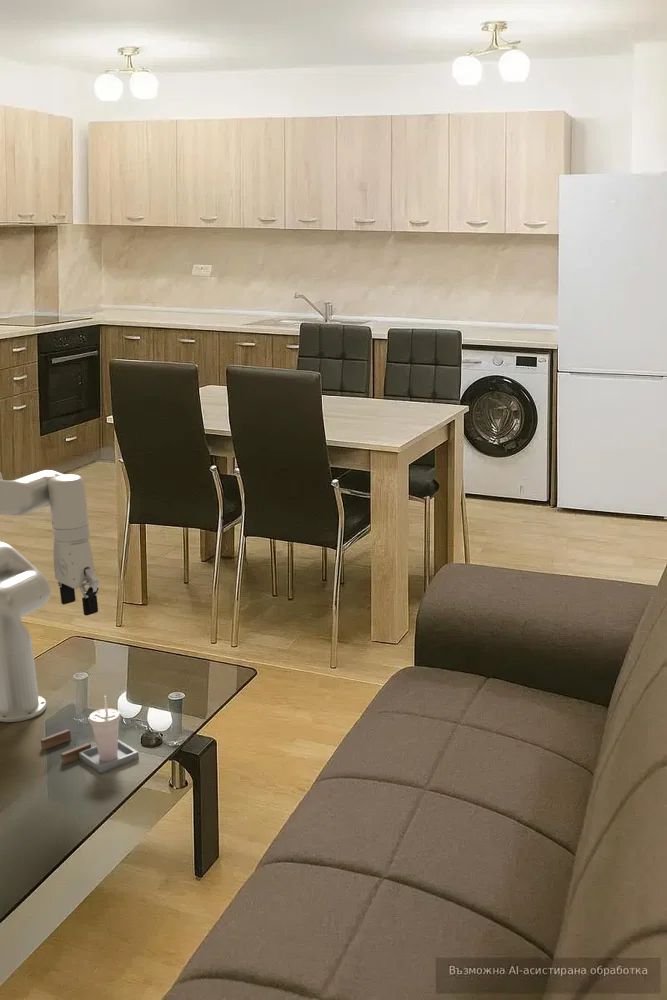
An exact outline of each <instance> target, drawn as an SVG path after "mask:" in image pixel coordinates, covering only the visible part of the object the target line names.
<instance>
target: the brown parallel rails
mask: <svg viewBox="0 0 667 1000" xmlns="http://www.w3.org/2000/svg"><path fill="white" fill-rule="evenodd" d="M71 740H72V737H71V730H70V729H68V728H66V729H64V730H62V731H59V732H56V733H53V734H51V735H48V736H45V737H43V738H41V739H40V746H41V750H43V751H46V750H48V749H50V748H53V747H55V746H58V745H60V744H63V743H66V742H69V741H71ZM91 747H92V744H91V743H90V742H87V743H84V744H81V745H79V746H76V747H74V748H71V749H69V750H66V751H64V752H61V754H60V757H61V764H63V765H67V764H70V763H72V762H74V761H76V760H80V759H79V752H81V751H83V750H86V749H89V748H91Z"/></svg>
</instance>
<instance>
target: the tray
mask: <svg viewBox="0 0 667 1000" xmlns="http://www.w3.org/2000/svg"><path fill="white" fill-rule="evenodd" d="M139 755H140V754H139V751H138V750H136V749H134V748H133V747H132V746H129V745H128V744H126V743H125V742H124V741H121V739H119V738H118V752H117V758H115V759H114V760H111V761H102V760H100V758H99V754H98V749H97V745H94V746H91V748H89V749H86V750H83V751H81V752H79V759H78V760H80V761H81V762H83V763H84V764H85V765H87V767H90V769H91V768H92V769H93V770H94V771H96V772H97V773H99V774H100V775H103V774H105V773H108V772H110V771H113V770H115V769H118V768H120V767H122V766H124V765H126V764H127V765H128V764H129V763H132V762H134V761H137V760H139V757H140V756H139Z"/></svg>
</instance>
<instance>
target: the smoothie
mask: <svg viewBox="0 0 667 1000" xmlns="http://www.w3.org/2000/svg"><path fill="white" fill-rule="evenodd" d="M107 697H108V696H107V695H103V700H104V701H103V702H104V708H100V709H96V710H94V711H92V712H91V713H90V714H89V716H88V717H89V718H88V719H89V724H91V728H92V732H93V736H94V741H95V744H96V745H97V749H98V754H99V758H100V760H102V761H111V760H114V759H115V758H117V752H118V739H119V725H120V724H119V723H120V720H121V713H120V711H119V710H118V709H115V708H108V700H107V699H108V698H107ZM96 745H95V746H96Z"/></svg>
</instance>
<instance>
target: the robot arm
mask: <svg viewBox="0 0 667 1000" xmlns="http://www.w3.org/2000/svg"><path fill="white" fill-rule="evenodd" d="M46 507H49V508H50V517H51V526H52V533H53V535H52V536H53V550H52V551H53V566H54V578H55V580H56V581H57V584H58V587H59V594H60V603H61V604H62V605H67V604H70V603H74V602H76V591H75V590H78V589H80V592H81V594H82V596H83V597H81V600H82V611H83V615H84V616H86V617H87V616H90V615H93V614H96V613H98V612H99V608H98V607H99V604H98V595H99V593H98V591H99V584H100V581H99V579H98V577H97V576H96V572H95V565H94V564H95V563H94V558H93V553H92V547H91V543H90V539H91V535H90V524H89V515H88V506H87V496H86V486H85V481H84V479H83V477H82V476H80V475H78V474H73V473H72V474H71V473H70V474H69V473H68V474H64V473H62V472H61V473H60V472H58V471H56V470H52V469H51V470H50V469H44V470H39V471H37V472H34V473H31V474H28V475H25V476H22V477H20V478H19V477H18V478H16V479H14V480H13V479H12V480H5V479H3V475H2V472H1V471H0V514H2V515H9V516H23V515H27V514H31V513H33V512H35V511H38V510H40V509H42V508H46ZM87 587H88V588H87ZM86 589H87V590H86ZM51 591H52V590H51V586H50V583H49V580H48V579H47V578H46V576H45V575H44V574H43V573H42V572H41V571H40V570H39V569H38V568H37V567H36V566H35V565H33V564H32V563H31V561H29V560H28V559H27V558H26V557H24V556H23V554H21V552H20V551H18V550H17V549H15V548H14V546H12V545H10V544H8V543H6V542H4V541H0V722H1V723H16V722H17V723H18V722H22V721H26V720H30V719H33V718H35V717H38V716H39V715H41V714H42V713H44V711H45V710H46V708H47V700H46V699H45V698H44V697H43V696H40V695H39V689H38V682H37V673H36V664H35V658H34V648H33V644H32V643H33V642H32V637H31V633H30V631H29V629H28V628H27V627H26V626H25V625H24V623H23V621H22V619H23V617H25V616H27V615H29V614H31V613H33V612H35V611H37V610H39V609H40V608H42V607H43V606H45V605H46V604H47V603H48V602H49V601H50V598H51V594H52V592H51Z"/></svg>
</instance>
